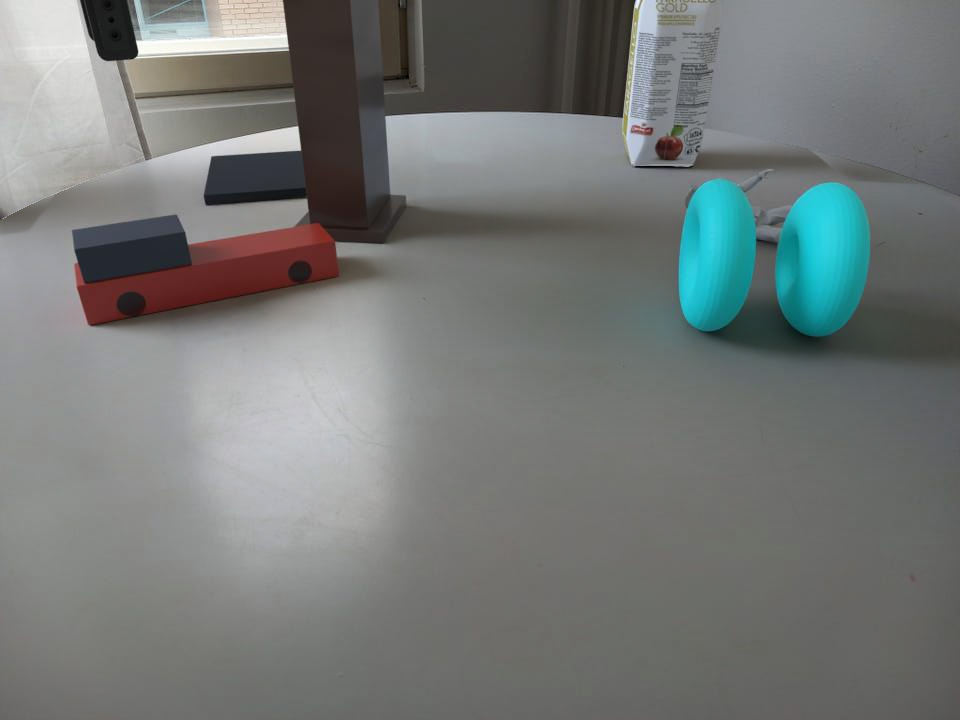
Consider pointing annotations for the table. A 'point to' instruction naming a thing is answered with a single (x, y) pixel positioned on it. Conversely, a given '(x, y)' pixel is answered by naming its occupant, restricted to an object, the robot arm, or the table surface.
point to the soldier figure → (758, 210)
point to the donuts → (799, 260)
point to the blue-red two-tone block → (189, 265)
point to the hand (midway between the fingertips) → (113, 49)
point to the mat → (255, 177)
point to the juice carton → (669, 79)
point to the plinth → (342, 117)
